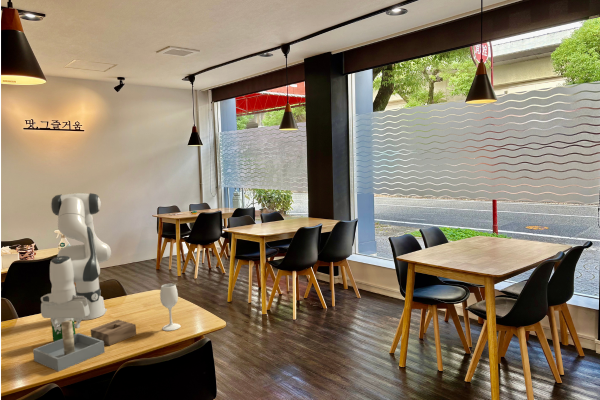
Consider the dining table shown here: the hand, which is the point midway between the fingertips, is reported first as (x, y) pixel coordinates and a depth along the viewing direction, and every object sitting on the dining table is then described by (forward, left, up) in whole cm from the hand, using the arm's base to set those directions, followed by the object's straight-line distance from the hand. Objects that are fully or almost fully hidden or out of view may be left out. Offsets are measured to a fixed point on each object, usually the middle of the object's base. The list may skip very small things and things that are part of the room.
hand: (67, 327), depth 186 cm
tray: (0, 0, -13) cm, 13 cm away
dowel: (0, 0, -12) cm, 12 cm away
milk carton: (-19, +8, -13) cm, 24 cm away
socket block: (-2, +22, -13) cm, 25 cm away
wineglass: (+13, +43, -13) cm, 47 cm away
